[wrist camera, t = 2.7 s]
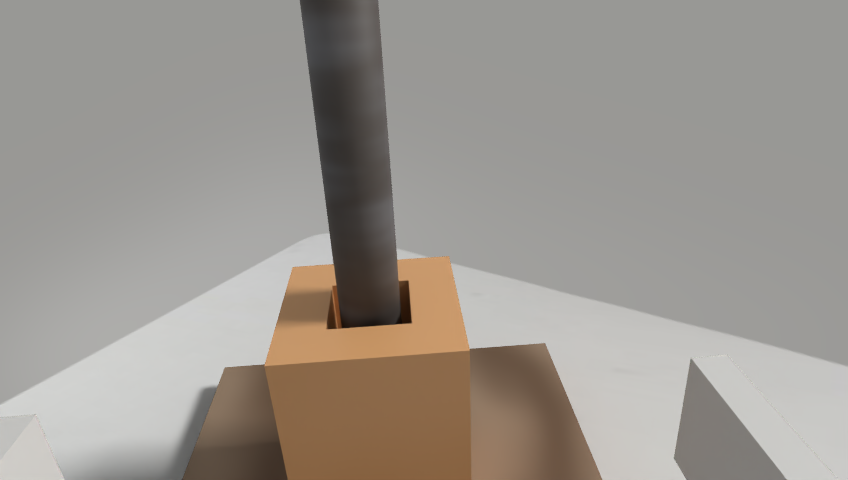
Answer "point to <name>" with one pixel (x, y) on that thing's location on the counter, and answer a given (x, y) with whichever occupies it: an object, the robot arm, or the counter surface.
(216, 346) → the counter surface
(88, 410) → the counter surface
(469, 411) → the sleeve
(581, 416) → the counter surface
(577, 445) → the stand
